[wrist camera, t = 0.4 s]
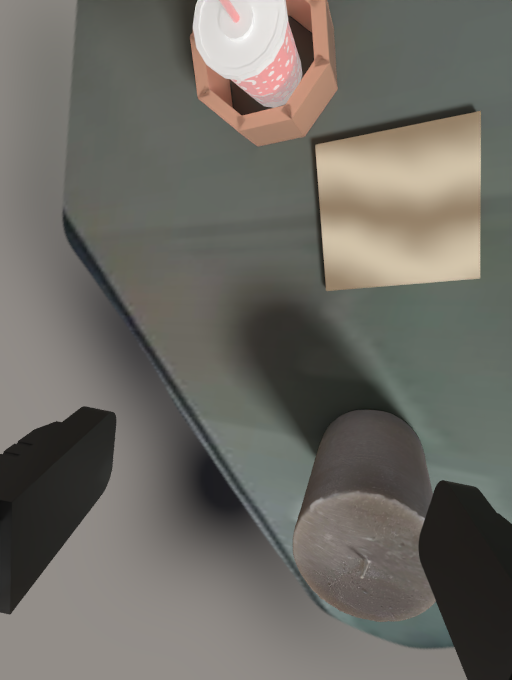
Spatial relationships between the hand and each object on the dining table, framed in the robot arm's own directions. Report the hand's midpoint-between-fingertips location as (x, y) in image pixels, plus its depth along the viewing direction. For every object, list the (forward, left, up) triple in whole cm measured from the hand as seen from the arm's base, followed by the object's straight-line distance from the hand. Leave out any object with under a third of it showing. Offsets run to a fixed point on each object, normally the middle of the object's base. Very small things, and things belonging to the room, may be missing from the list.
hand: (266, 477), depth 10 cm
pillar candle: (+14, +1, -28) cm, 31 cm away
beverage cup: (-20, -5, -28) cm, 34 cm away
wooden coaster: (-8, +4, -27) cm, 29 cm away
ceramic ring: (-20, -5, -27) cm, 34 cm away
